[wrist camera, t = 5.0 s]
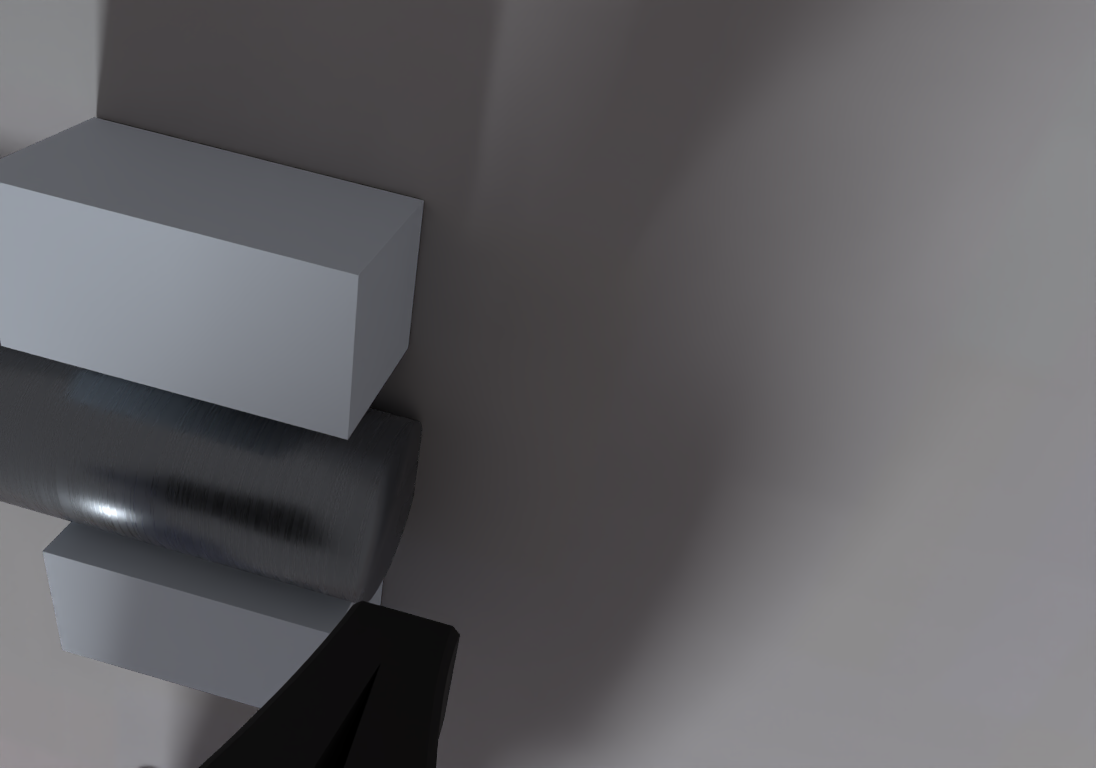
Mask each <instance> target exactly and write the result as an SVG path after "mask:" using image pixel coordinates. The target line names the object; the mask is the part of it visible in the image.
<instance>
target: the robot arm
mask: <svg viewBox="0 0 1096 768" xmlns="http://www.w3.org/2000/svg"><path fill="white" fill-rule="evenodd" d="M459 637H460V634H459V633H458V632H457V631H456V629H455V628H454V627H453V626H451V625H447V624H444V623H440V622H436V621H433V620H429V619H426V618H422V617H419V616H415V615H412V614H408V613H405V612H401V611H397V610H394V609H390V608H387V607H383V606H380V605H376V604H373V603H369V602H365V601H360V602H358V603H355V604H353V605H352V607H351V608H350V609H349V611H348V612H347V613H346V614H345V616H344V617H343V618H342V620H341V621H340V622H339V623H338V624H337V626H336V627H335V628H334V629H333V630H332V632H331V633H330V634H329V635H328V636H327V638H326V639H325V640H324V641H323V642H322V643H321V645H320V646H319V647H318V648H317V649H316V650H315V651H314V653H313V654H312V655H311V656H310V657H309V658H308V659H307V660H306V661H305V663H304V664H303V665H302V666H301V667H300V668H299V669H298V670H297V671H296V672H295V673H294V675H293V676H292V677H291V678H290V679H289V680H288V681H287V682H286V683H285V684H284V685H283V686H282V687H281V688H280V689H279V690H278V691H277V692H276V693H275V694H274V695H273V696H272V697H271V698H270V699H269V700H268V701H267V702H266V703H265V704H264V706H263V707H262V708H261V709H260V710H259V711H258V712H257V713H256V714H255V715H254V716H253V717H252V718H251V719H250V720H249V721H248V722H247V723H246V724H245V725H244V726H243V727H242V728H241V729H240V730H239V731H238V732H237V733H236V734H235V735H233V736H232V737H231V738H230V739H229V740H228V741H227V742H226V743H225V744H224V745H223V746H222V747H221V748H220V749H218V750H217V751H216V752H215V753H214V754H213V755H212V756H211V757H210V758H209V759H208V760H206V761H205V762H204V763H203V764H202V765H201V766H200V767H199V768H436V760H437V747H438V739H439V735H440V732H441V728H442V725H443V721H444V716H445V711H446V706H447V700H448V695H449V690H450V684H451V679H452V674H453V669H454V663H455V658H456V653H457V647H458V642H459Z"/></svg>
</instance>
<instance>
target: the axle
mask: <svg viewBox="0 0 1096 768" xmlns="http://www.w3.org/2000/svg"><path fill="white" fill-rule="evenodd" d="M421 435H422V426H421V423H420V422H419V421H415V420H412V419H408V418H404V417H401V416H397V415H393V414H390V413H386V412H382V411H379V410H375V409H371V408H368V410H367V411H366V413H365V414H364V416H363V417H362V419H361V420H360V422H359V423H358V425H357V427H356V428H355V430H354V431H353V433H352V434H351V436H350V437H349V439H348V440H346V439H342V438H339V437H335V436H331V435H328V434H324V433H320V432H317V431H313V430H309V429H306V428H302V427H298V426H295V425H291V424H287V423H284V422H280V421H276V420H272V419H269V418H265V417H261V416H258V415H254V414H250V413H247V412H243V411H239V410H236V409H232V408H228V407H225V406H221V405H217V404H214V403H210V402H206V401H203V400H199V399H195V398H192V397H188V396H184V395H180V394H177V393H173V392H169V391H166V390H162V389H158V388H155V387H151V386H147V385H144V384H140V383H136V382H133V381H129V380H125V379H122V378H118V377H114V376H111V375H107V374H103V373H99V372H96V371H92V370H88V369H85V368H81V367H77V366H74V365H70V364H66V363H63V362H59V361H55V360H52V359H48V358H44V357H41V356H37V355H33V354H30V353H26V352H22V351H18V350H15V349H11V348H7V347H4V346H1V342H0V501H2V502H5V503H9V504H12V505H16V506H19V507H23V508H26V509H30V510H33V511H37V512H40V513H43V514H47V515H50V516H54V517H57V518H61V519H64V520H68V521H71V522H75V523H78V524H82V525H85V526H89V527H92V528H96V529H99V530H103V531H106V532H110V533H113V534H117V535H120V536H124V537H127V538H131V539H134V540H137V541H141V542H144V543H148V544H151V545H155V546H158V547H162V548H165V549H169V550H172V551H176V552H179V553H183V554H186V555H190V556H193V557H197V558H200V559H204V560H207V561H211V562H214V563H218V564H221V565H225V566H228V567H231V568H235V569H238V570H242V571H245V572H249V573H252V574H256V575H259V576H263V577H266V578H270V579H273V580H277V581H280V582H284V583H287V584H291V585H294V586H298V587H301V588H305V589H308V590H312V591H315V592H319V593H322V594H325V595H329V596H332V597H336V598H339V599H343V600H346V601H350V602H353V603H358V602H360V601H365V602H369V601H370V600H371V598H372V597H373V596H374V594H375V593H376V591H377V590H378V588H379V586H380V584H381V583H382V581H383V579H384V577H385V575H386V573H387V571H388V568H389V566H390V564H391V562H392V559H393V557H394V554H395V552H396V549H397V547H398V544H399V541H400V538H401V535H402V533H403V530H404V527H405V523H406V520H407V517H408V514H409V510H410V507H411V503H412V499H413V496H414V489H415V481H416V474H417V466H418V458H419V450H420V443H421Z"/></svg>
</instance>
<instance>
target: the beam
mask: <svg viewBox="0 0 1096 768" xmlns="http://www.w3.org/2000/svg"><path fill="white" fill-rule="evenodd" d="M423 205H424V200H420V199H416V198H412V197H408V196H404V195H400V194H396V193H392V192H388V191H384V190H380V189H376V188H372V187H368V186H364V185H360V184H357V183H353V182H349V181H345V180H341V179H337V178H333V177H329V176H325V175H321V174H317V173H313V172H309V171H305V170H301V169H297V168H293V167H289V166H285V165H281V164H277V163H273V162H269V161H265V160H262V159H258V158H254V157H250V156H246V155H242V154H238V153H234V152H230V151H226V150H222V149H218V148H214V147H210V146H206V145H202V144H198V143H194V142H190V141H186V140H182V139H178V138H174V137H170V136H167V135H163V134H159V133H155V132H151V131H147V130H143V129H139V128H135V127H131V126H127V125H123V124H119V123H115V122H111V121H107V120H103V119H99V118H95V117H94V118H91V119H89V120H87V121H85V122H82V123H80V124H78V125H76V126H73V127H71V128H69V129H67V130H64V131H62V132H60V133H58V134H55V135H53V136H51V137H49V138H46V139H44V140H42V141H39V142H37V143H35V144H33V145H30V146H28V147H26V148H24V149H21V150H19V151H17V152H15V153H12V154H10V155H8V156H6V157H3V158H1V159H0V342H1V346H4V347H7V348H11V349H15V350H18V351H22V352H26V353H30V354H33V355H37V356H41V357H44V358H48V359H52V360H55V361H59V362H63V363H66V364H70V365H74V366H77V367H81V368H85V369H88V370H92V371H96V372H99V373H103V374H107V375H111V376H114V377H118V378H122V379H125V380H129V381H133V382H136V383H140V384H144V385H147V386H151V387H155V388H158V389H162V390H166V391H169V392H173V393H177V394H180V395H184V396H188V397H192V398H195V399H199V400H203V401H206V402H210V403H214V404H217V405H221V406H225V407H228V408H232V409H236V410H239V411H243V412H247V413H250V414H254V415H258V416H261V417H265V418H269V419H272V420H276V421H280V422H284V423H287V424H291V425H295V426H298V427H302V428H306V429H309V430H313V431H317V432H320V433H324V434H328V435H331V436H335V437H339V438H342V439H346V440H348V439H349V437H350V436H351V434H352V433H353V431H354V430H355V428H356V427H357V425H358V423H359V422H360V420H361V419H362V417H363V416H364V414H365V413H366V411H367V410H368V408H369V407H370V405H371V404H372V402H373V401H374V399H375V398H376V396H377V395H378V393H379V392H380V390H381V388H382V387H383V385H384V384H385V382H386V381H387V379H388V378H389V376H390V375H391V373H392V372H393V370H394V369H395V367H396V366H397V364H398V363H399V361H400V360H401V358H402V357H403V355H404V353H405V352H406V350H407V349H408V345H409V335H410V326H411V317H412V307H413V298H414V289H415V280H416V270H417V261H418V252H419V242H420V233H421V224H422V215H423ZM43 556H44V561H45V566H46V571H47V576H48V581H49V586H50V591H51V596H52V601H53V606H54V611H55V616H56V621H57V626H58V631H59V636H60V641H61V646H62V650H63V651H67V652H70V653H74V654H77V655H80V656H84V657H87V658H91V659H94V660H97V661H101V662H104V663H108V664H111V665H114V666H118V667H121V668H125V669H128V670H132V671H135V672H138V673H142V674H145V675H149V676H152V677H155V678H159V679H162V680H166V681H169V682H172V683H176V684H179V685H183V686H186V687H189V688H193V689H196V690H200V691H203V692H207V693H210V694H213V695H217V696H220V697H224V698H227V699H230V700H234V701H237V702H241V703H244V704H247V705H251V706H254V707H258V708H262V707H263V706H264V704H265V703H266V702H267V701H268V700H269V699H270V698H271V697H272V696H273V695H274V694H275V693H276V692H277V691H278V690H279V689H280V688H281V687H282V686H283V685H284V684H285V683H286V682H287V681H288V680H289V679H290V678H291V677H292V676H293V675H294V673H295V672H296V671H297V670H298V669H299V668H300V667H301V666H302V665H303V664H304V663H305V661H306V660H307V659H308V658H309V657H310V656H311V655H312V654H313V653H314V651H315V650H316V649H317V648H318V647H319V646H320V645H321V643H322V642H323V641H324V640H325V639H326V638H327V636H328V635H329V634H330V633H331V632H332V630H333V629H334V628H335V627H336V626H337V624H338V623H339V622H340V621H341V620H342V618H343V617H344V616H345V614H346V613H347V612H348V611H349V609H350V608H351V607H352V605H353V604H355V603H353V602H350V601H346V600H343V599H339V598H336V597H332V596H329V595H325V594H322V593H319V592H315V591H312V590H308V589H305V588H301V587H298V586H294V585H291V584H287V583H284V582H280V581H277V580H273V579H270V578H266V577H263V576H259V575H256V574H252V573H249V572H245V571H242V570H238V569H235V568H231V567H228V566H225V565H221V564H218V563H214V562H211V561H207V560H204V559H200V558H197V557H193V556H190V555H186V554H183V553H179V552H176V551H172V550H169V549H165V548H162V547H158V546H155V545H151V544H148V543H144V542H141V541H137V540H134V539H131V538H127V537H124V536H120V535H117V534H113V533H110V532H106V531H103V530H99V529H96V528H92V527H89V526H85V525H82V524H78V523H75V522H71V523H70V524H69V525H68V526H67V527H66V528H65V529H64V530H63V531H62V532H61V533H60V534H59V535H58V536H57V537H56V538H55V539H54V540H53V541H52V542H51V543H50V544H49V545H48V546H47V547H46V548H45V549H44V550H43ZM382 586H383V581H382V583H381V584H380V586H379V588H378V590H377V591H376V593H375V594H374V596H373V597H372V598H371V600H370V601H369V603H373V604H376V605H380V604H381V595H382Z"/></svg>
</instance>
